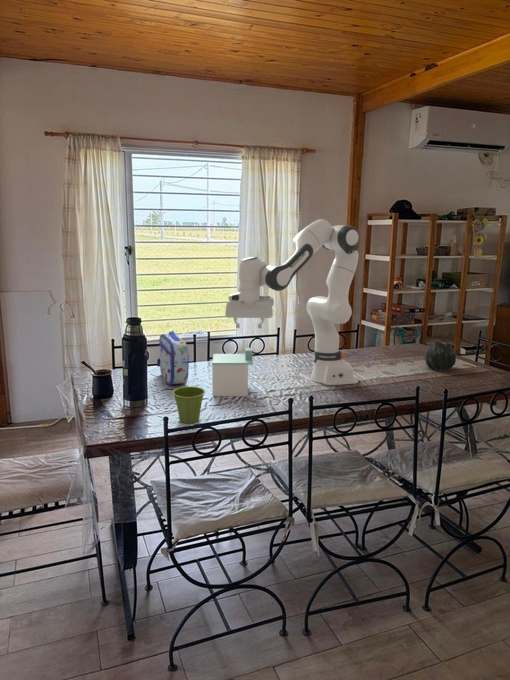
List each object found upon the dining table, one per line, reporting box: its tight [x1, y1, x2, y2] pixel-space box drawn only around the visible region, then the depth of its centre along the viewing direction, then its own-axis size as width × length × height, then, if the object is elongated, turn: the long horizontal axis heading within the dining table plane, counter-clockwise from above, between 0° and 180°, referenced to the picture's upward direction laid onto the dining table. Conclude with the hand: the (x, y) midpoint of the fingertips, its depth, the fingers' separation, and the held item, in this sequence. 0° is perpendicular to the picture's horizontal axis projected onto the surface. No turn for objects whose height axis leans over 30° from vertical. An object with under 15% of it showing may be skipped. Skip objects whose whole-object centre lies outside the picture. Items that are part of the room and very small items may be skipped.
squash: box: [424, 341, 457, 372], centre depth 257 cm, size 14×15×15 cm
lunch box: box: [156, 330, 190, 385], centre depth 235 cm, size 28×10×22 cm, turn 23°
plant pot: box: [172, 386, 206, 424], centre depth 187 cm, size 12×12×11 cm
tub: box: [211, 365, 249, 397], centre depth 220 cm, size 15×14×14 cm
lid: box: [211, 347, 254, 366], centre depth 218 cm, size 17×15×5 cm
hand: (248, 327), depth 216 cm, fingers open, 8 cm apart
